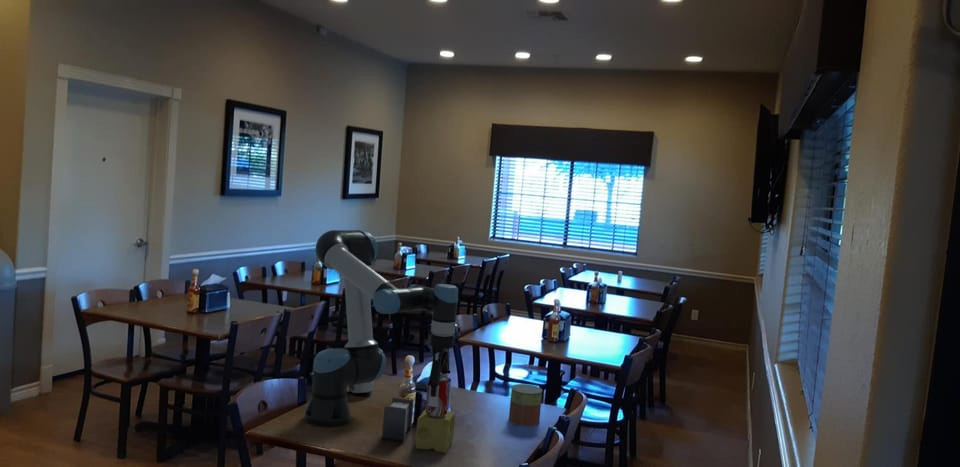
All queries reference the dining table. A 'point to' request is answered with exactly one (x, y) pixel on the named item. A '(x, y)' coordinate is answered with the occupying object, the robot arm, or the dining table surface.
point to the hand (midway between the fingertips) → (437, 399)
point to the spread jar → (361, 389)
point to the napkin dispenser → (397, 420)
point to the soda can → (439, 399)
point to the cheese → (435, 431)
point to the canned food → (525, 405)
